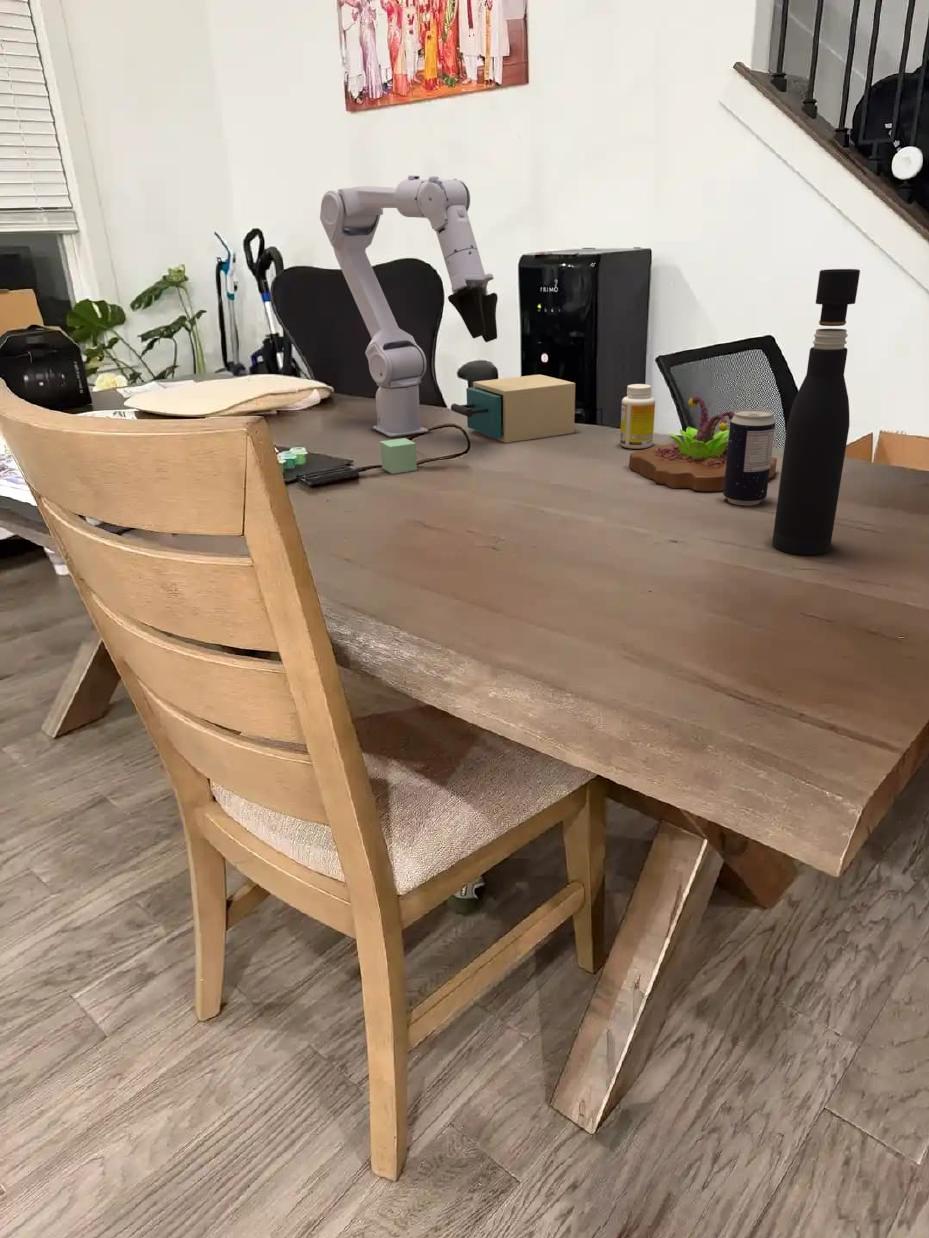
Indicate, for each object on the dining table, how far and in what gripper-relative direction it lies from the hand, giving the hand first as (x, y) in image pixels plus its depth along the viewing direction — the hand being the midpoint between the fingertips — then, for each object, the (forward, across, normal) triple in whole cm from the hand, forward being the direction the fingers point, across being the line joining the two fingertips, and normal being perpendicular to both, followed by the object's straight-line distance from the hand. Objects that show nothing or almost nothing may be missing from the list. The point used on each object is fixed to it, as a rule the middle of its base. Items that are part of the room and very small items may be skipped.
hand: (485, 338), depth 140 cm
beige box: (+15, +18, +2) cm, 24 cm away
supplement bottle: (+24, +10, -18) cm, 32 cm away
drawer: (+14, +15, +5) cm, 21 cm away
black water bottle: (+41, -36, -38) cm, 66 cm away
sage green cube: (+16, -11, +17) cm, 26 cm away
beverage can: (+36, -19, -33) cm, 52 cm away
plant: (+31, -5, -28) cm, 42 cm away
